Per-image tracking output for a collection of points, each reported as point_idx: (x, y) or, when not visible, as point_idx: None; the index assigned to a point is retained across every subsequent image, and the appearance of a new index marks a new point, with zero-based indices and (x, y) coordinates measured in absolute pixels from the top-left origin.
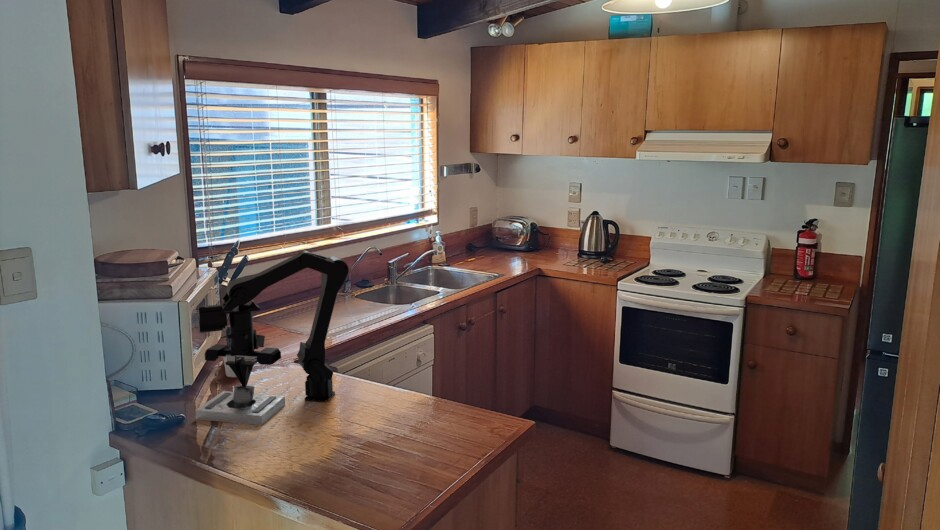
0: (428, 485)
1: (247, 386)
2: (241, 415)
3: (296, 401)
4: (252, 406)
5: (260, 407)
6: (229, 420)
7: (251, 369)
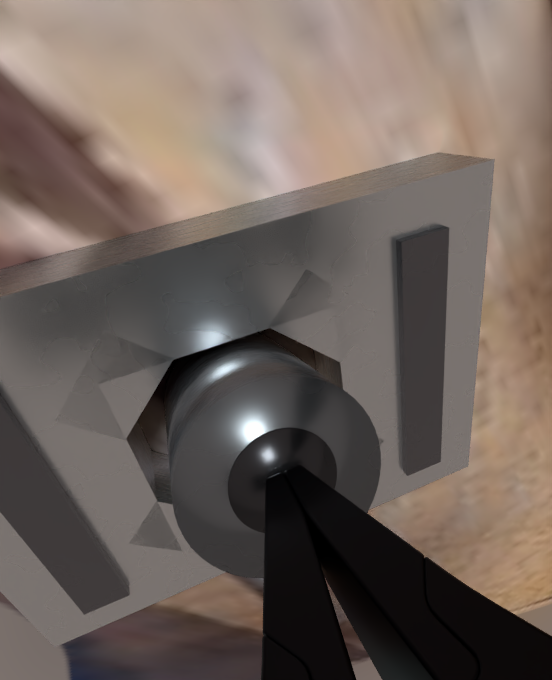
0: None
1: (329, 479)
2: None
3: (492, 39)
4: None
5: (427, 420)
6: None
7: (490, 615)
